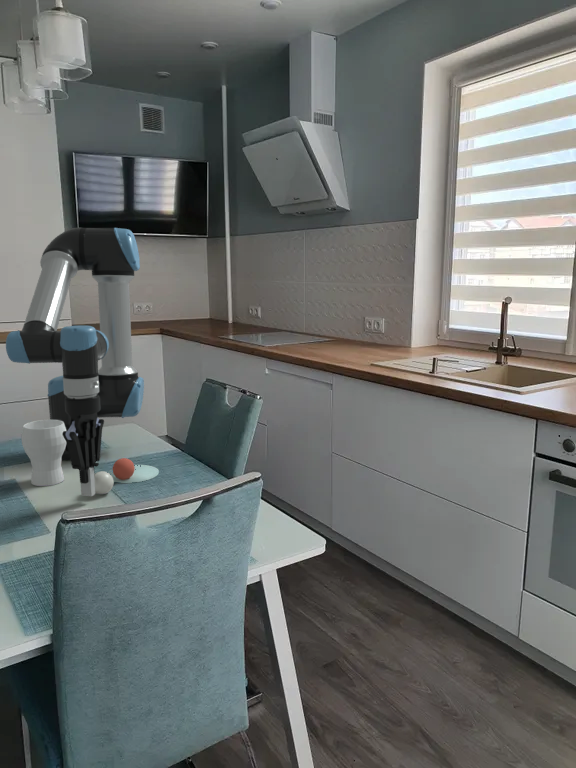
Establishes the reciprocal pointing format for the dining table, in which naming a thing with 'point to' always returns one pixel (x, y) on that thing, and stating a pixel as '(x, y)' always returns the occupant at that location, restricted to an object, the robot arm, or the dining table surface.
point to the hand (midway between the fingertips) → (88, 494)
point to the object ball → (123, 468)
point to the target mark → (139, 474)
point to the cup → (45, 450)
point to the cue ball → (103, 482)
